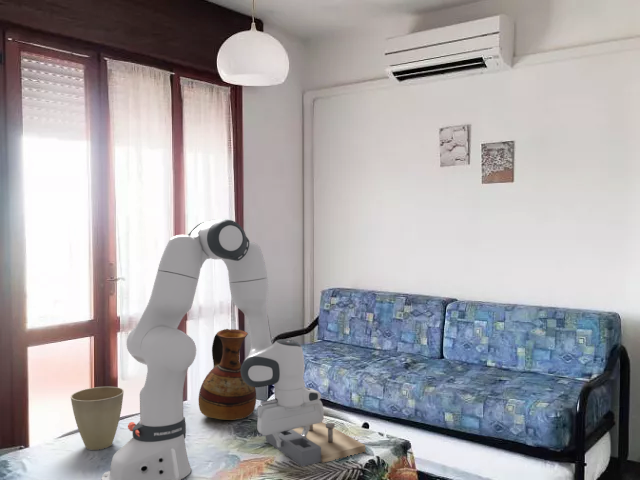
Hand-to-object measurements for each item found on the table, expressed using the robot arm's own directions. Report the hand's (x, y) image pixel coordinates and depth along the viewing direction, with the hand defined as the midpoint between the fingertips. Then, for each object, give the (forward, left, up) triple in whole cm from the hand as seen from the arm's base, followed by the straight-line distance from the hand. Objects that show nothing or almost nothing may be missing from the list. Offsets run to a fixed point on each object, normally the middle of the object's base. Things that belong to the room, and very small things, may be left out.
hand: (291, 443), depth 170 cm
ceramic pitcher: (-4, +40, -2) cm, 40 cm away
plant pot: (-47, +35, -2) cm, 59 cm away
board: (+10, +1, -2) cm, 10 cm away
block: (0, 0, -2) cm, 2 cm away
